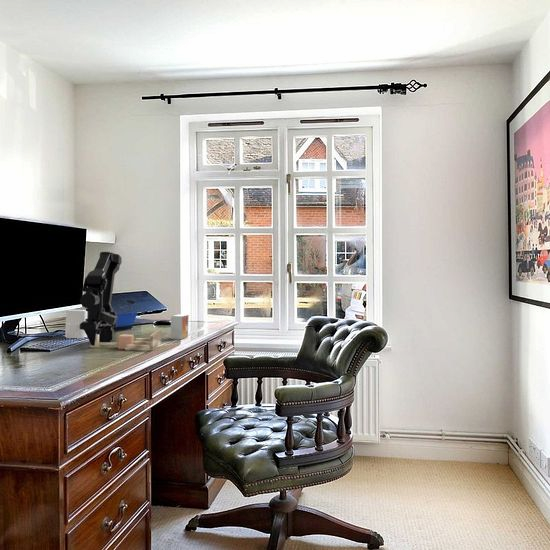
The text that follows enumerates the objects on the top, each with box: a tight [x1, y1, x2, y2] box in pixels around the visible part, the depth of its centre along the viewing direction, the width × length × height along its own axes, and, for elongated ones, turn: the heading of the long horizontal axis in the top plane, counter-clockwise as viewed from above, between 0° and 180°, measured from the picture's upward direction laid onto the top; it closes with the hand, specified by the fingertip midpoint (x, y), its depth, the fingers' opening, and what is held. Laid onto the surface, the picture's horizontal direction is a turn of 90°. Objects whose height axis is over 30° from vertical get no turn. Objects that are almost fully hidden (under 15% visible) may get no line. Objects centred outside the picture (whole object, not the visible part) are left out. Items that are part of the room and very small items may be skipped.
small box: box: [170, 313, 190, 340], centre depth 233 cm, size 8×6×10 cm
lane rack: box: [125, 329, 162, 352], centre depth 208 cm, size 11×17×6 cm, turn 2°
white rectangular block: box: [64, 309, 88, 339], centre depth 226 cm, size 9×9×12 cm
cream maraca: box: [90, 333, 135, 350], centre depth 204 cm, size 16×5×5 cm, turn 95°
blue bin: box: [113, 311, 138, 332], centre depth 253 cm, size 16×13×9 cm
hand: (94, 344), depth 203 cm, fingers closed on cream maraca, 3 cm apart
